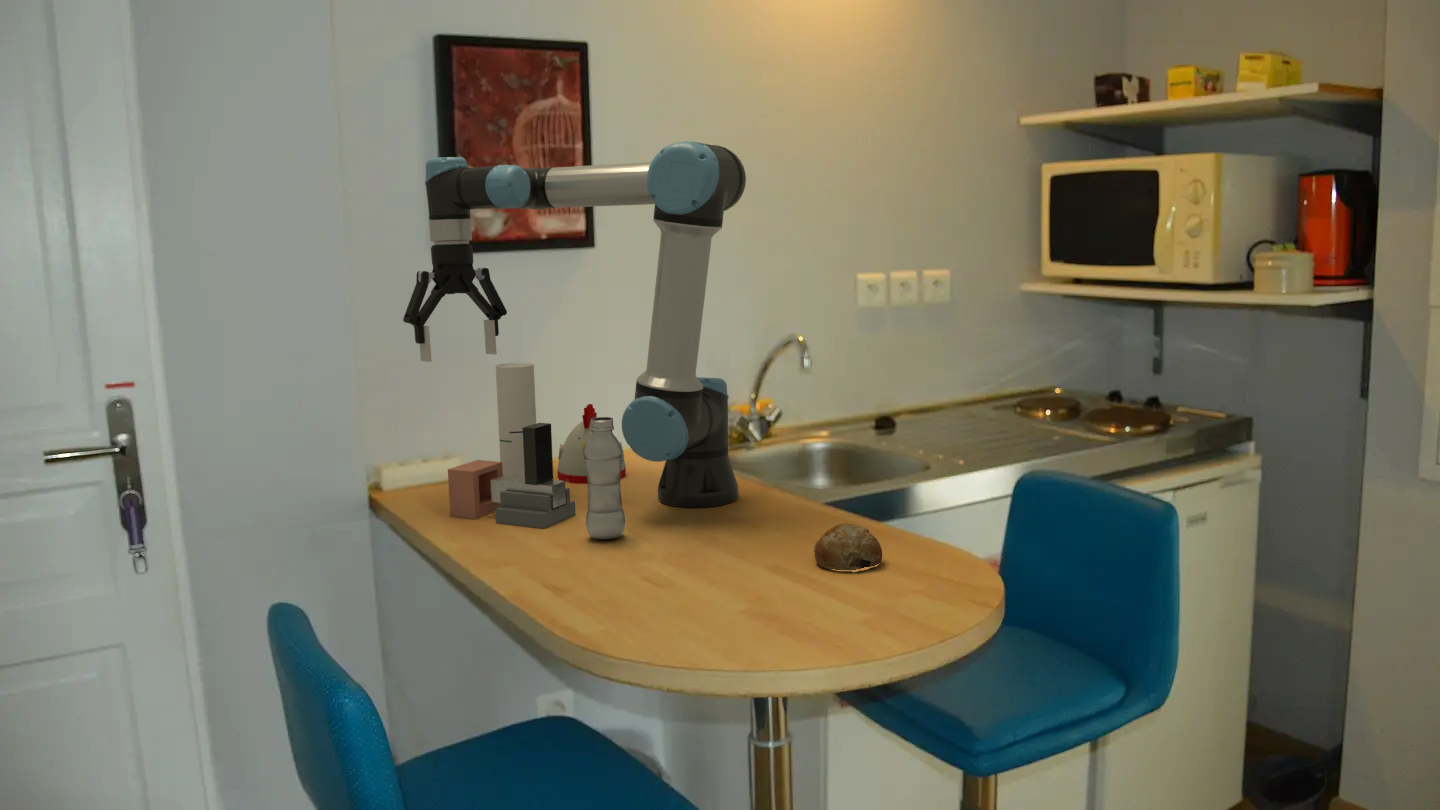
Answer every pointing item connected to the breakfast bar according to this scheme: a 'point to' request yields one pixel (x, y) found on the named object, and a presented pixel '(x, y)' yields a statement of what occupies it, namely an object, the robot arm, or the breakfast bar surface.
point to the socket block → (473, 488)
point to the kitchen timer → (578, 451)
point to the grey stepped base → (532, 509)
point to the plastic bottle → (604, 481)
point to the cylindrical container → (514, 413)
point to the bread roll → (847, 548)
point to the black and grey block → (534, 468)
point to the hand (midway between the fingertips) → (459, 357)
